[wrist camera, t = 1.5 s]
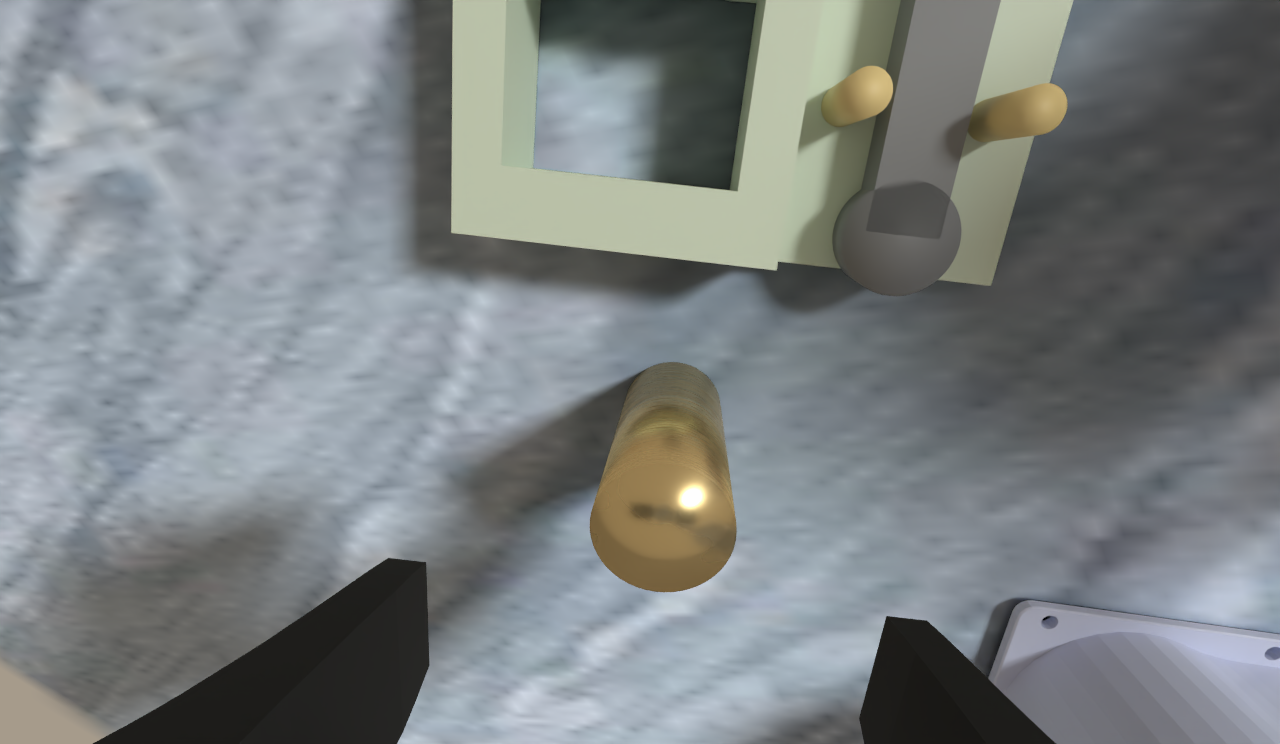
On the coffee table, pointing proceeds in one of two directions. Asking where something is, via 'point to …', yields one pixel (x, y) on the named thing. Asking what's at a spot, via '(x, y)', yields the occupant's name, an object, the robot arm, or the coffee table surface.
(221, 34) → the coffee table surface
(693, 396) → the brass pin
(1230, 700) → the robot arm
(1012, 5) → the slot jig
